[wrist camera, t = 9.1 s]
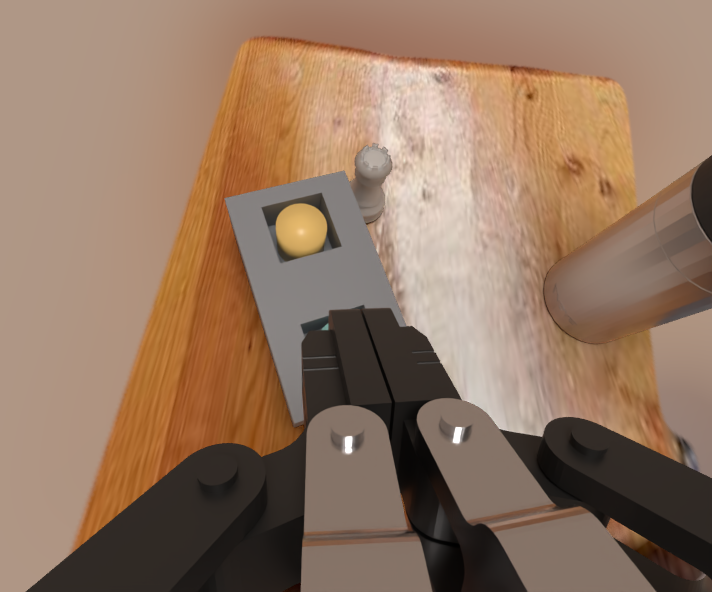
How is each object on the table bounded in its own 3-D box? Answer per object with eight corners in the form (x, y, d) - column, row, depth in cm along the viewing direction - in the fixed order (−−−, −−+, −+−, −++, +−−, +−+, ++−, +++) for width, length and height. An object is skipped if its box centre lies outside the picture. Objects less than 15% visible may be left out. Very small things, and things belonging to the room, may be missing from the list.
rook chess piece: (330, 197, 44) (338, 145, 36) (367, 179, 45) (383, 126, 38) (354, 232, 43) (367, 187, 35) (391, 213, 44) (412, 166, 37)
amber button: (315, 219, 39) (317, 198, 35) (330, 259, 38) (334, 241, 34) (271, 230, 38) (269, 210, 35) (285, 272, 37) (284, 255, 34)
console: (336, 212, 43) (344, 170, 37) (403, 387, 39) (426, 375, 32) (235, 237, 41) (224, 198, 35) (293, 427, 36) (294, 423, 30)
